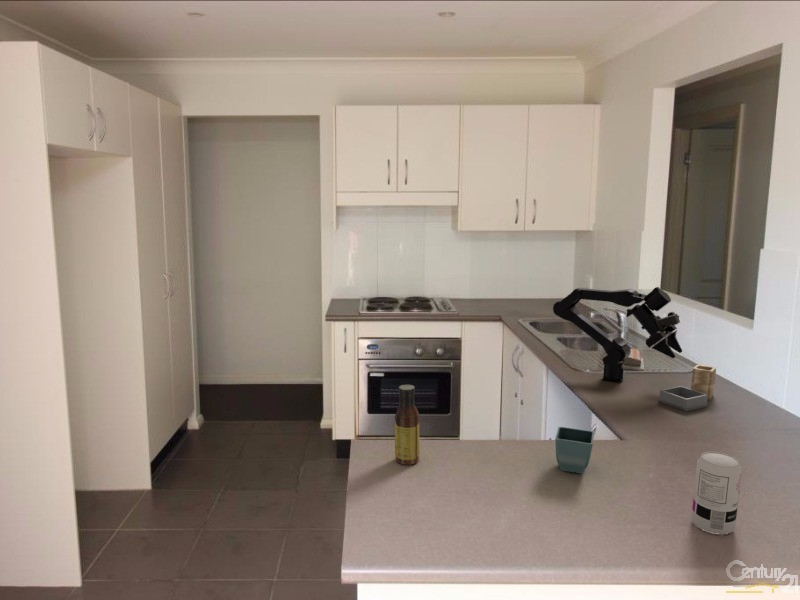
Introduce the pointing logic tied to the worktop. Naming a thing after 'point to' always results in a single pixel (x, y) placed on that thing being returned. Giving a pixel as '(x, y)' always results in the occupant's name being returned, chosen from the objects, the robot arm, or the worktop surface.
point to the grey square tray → (683, 398)
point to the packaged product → (634, 361)
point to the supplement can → (716, 492)
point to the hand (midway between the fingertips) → (677, 354)
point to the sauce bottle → (407, 427)
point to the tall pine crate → (703, 380)
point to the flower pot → (573, 449)
